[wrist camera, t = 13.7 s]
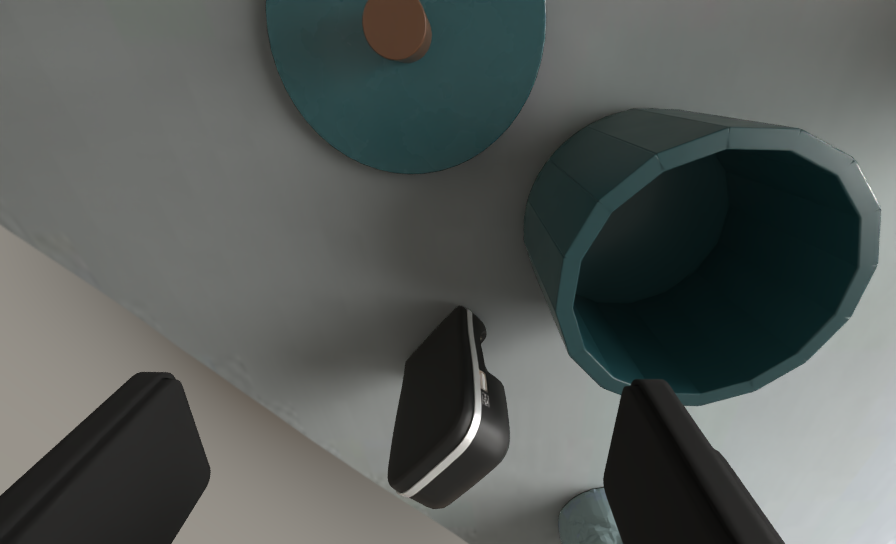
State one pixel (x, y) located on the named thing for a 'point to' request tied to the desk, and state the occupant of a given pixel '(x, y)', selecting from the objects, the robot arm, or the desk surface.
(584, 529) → the embossed ceramic cup
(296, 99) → the lid
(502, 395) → the battery charger
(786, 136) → the tin
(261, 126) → the desk surface
